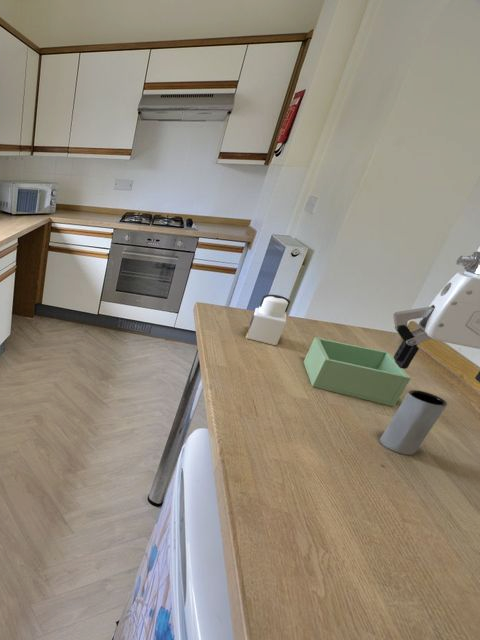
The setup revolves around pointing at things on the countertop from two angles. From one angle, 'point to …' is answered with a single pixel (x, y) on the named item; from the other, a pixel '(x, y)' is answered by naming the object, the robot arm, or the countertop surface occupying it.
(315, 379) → the basket
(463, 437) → the countertop surface
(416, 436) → the grey cylinder
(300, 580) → the countertop surface
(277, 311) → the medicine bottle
